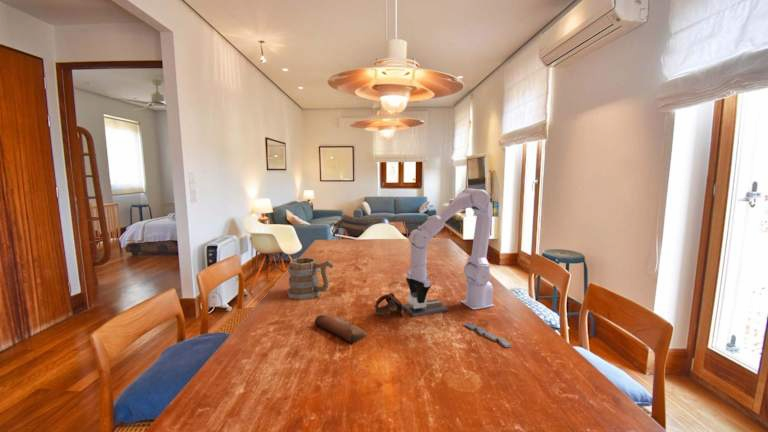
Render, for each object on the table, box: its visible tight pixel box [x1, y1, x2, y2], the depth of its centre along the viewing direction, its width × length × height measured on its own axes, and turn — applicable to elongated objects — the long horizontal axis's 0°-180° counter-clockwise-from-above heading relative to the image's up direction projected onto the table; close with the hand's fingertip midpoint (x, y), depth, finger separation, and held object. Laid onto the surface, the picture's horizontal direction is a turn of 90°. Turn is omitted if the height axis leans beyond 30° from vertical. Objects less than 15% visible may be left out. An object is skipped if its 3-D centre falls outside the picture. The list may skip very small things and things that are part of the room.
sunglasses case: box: [314, 314, 370, 345], centre depth 103 cm, size 18×7×7 cm
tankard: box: [286, 257, 335, 301], centre depth 133 cm, size 20×13×15 cm, turn 68°
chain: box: [464, 321, 512, 348], centre depth 101 cm, size 3×17×1 cm, turn 34°
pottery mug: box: [374, 292, 405, 318], centre depth 116 cm, size 12×10×8 cm
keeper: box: [401, 299, 449, 317], centre depth 120 cm, size 14×9×4 cm, turn 111°
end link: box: [407, 292, 428, 309], centre depth 119 cm, size 5×5×4 cm
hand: (417, 299), depth 119 cm, fingers closed on end link, 5 cm apart
